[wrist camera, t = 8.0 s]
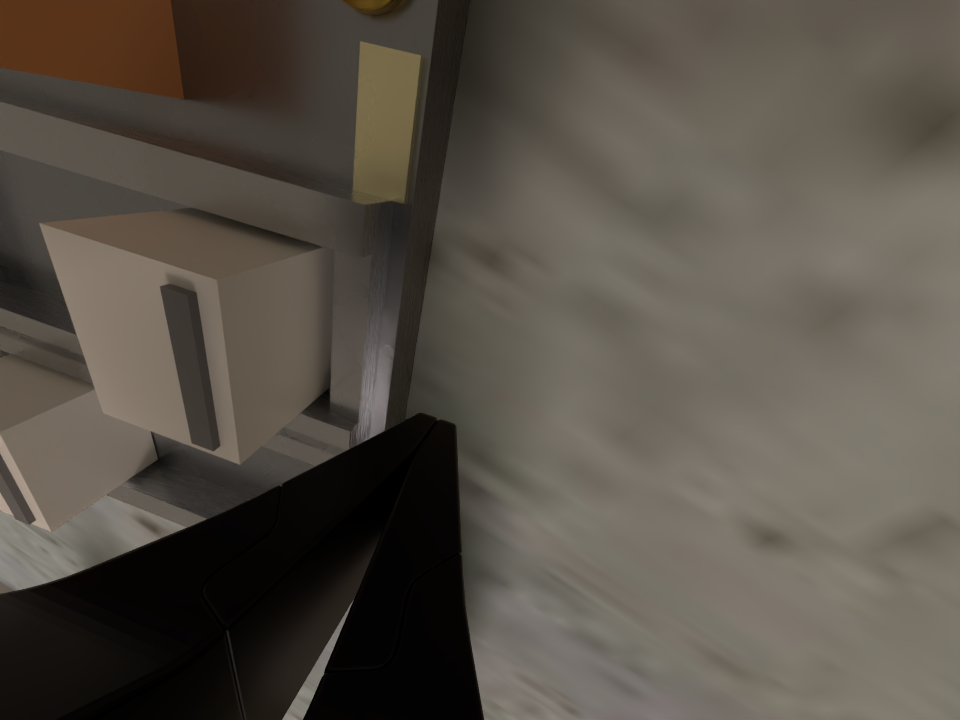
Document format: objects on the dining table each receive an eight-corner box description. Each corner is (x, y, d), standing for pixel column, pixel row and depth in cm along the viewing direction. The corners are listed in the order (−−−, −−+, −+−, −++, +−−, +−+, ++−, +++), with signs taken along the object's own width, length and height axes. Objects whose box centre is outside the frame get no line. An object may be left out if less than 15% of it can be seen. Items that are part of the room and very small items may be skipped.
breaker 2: (332, 384, 13) (233, 470, 9) (228, 349, 13) (94, 418, 10) (337, 243, 11) (207, 282, 7) (211, 205, 11) (26, 224, 7)
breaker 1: (157, 459, 17) (44, 536, 14) (84, 431, 18) (-45, 498, 14) (134, 371, 15) (-10, 436, 11) (50, 341, 15) (-115, 394, 12)
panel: (388, 525, 19) (350, 594, 16) (90, 413, 21) (5, 455, 18) (480, -66, 9) (423, -193, 6) (-124, -184, 10) (-413, -327, 7)
